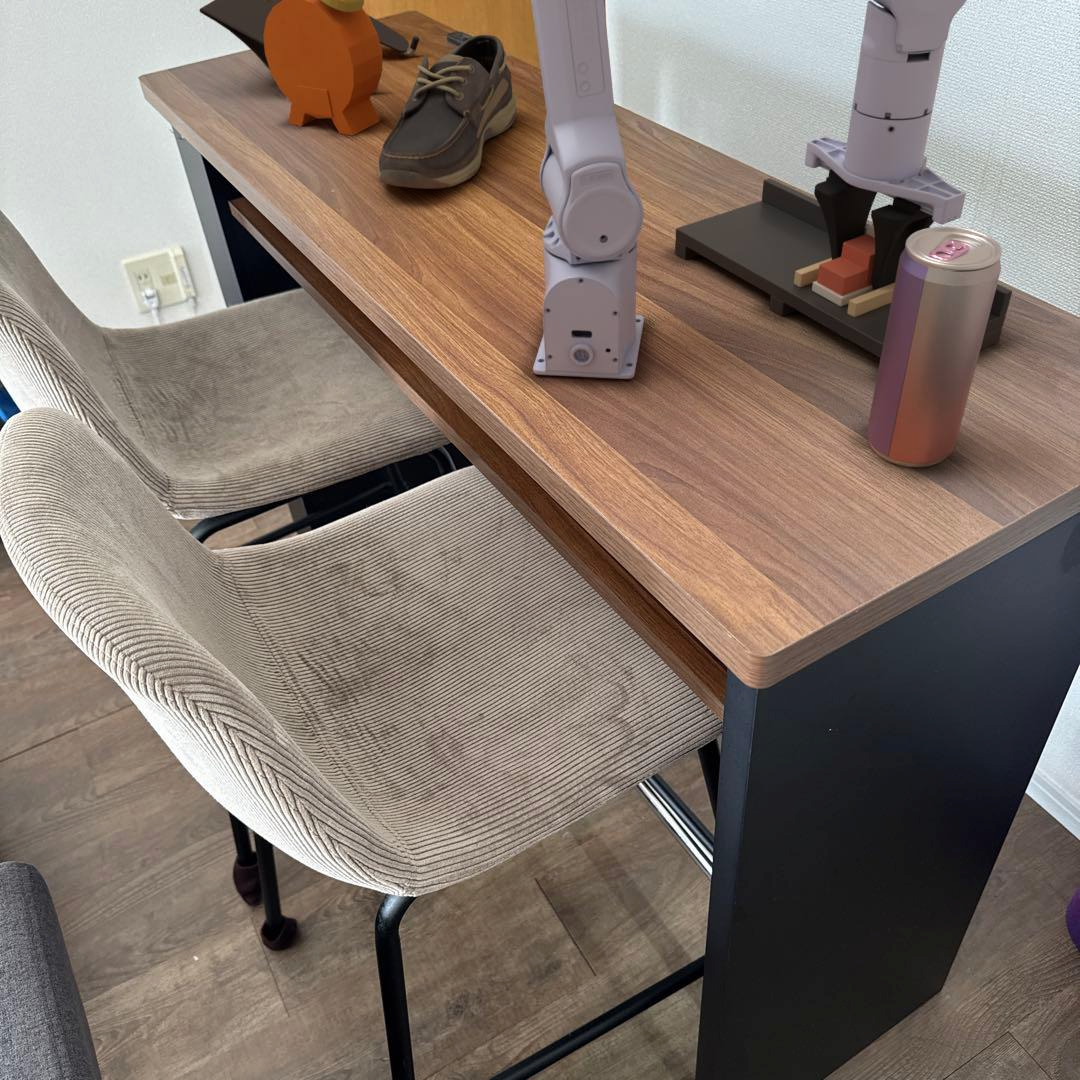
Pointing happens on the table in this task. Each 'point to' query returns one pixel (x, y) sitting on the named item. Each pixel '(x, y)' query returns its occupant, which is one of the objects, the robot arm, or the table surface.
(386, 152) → the boat shoe
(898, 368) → the beverage can
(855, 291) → the stepped block
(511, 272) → the table surface
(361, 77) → the alarm clock
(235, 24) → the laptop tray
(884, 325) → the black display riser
